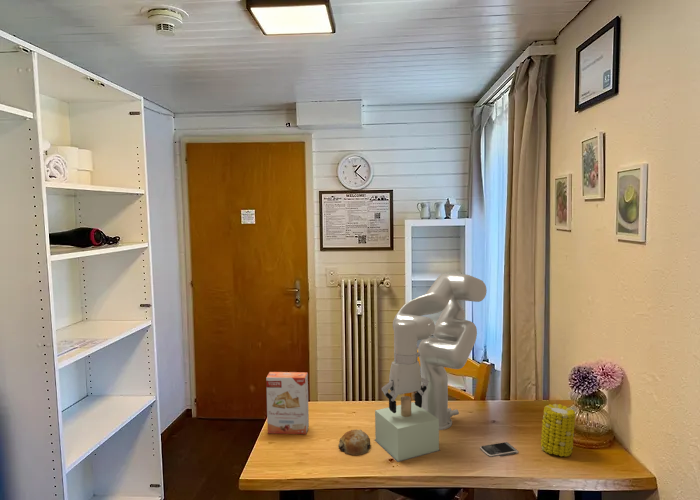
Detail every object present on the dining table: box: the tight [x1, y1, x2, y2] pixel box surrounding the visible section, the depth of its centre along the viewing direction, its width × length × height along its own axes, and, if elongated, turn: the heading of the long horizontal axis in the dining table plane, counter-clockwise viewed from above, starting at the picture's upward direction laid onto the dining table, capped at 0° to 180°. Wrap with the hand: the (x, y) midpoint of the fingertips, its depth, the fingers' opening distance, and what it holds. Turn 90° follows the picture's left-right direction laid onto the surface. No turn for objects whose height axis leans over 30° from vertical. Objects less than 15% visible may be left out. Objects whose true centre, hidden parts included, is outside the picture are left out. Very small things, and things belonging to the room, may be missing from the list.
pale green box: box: [374, 395, 440, 462], centre depth 157 cm, size 15×15×16 cm
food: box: [540, 403, 576, 458], centre depth 152 cm, size 15×12×10 cm
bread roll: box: [338, 429, 371, 456], centre depth 156 cm, size 10×10×8 cm
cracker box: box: [265, 371, 310, 435], centre depth 169 cm, size 14×6×21 cm, turn 86°
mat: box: [374, 439, 441, 463], centre depth 157 cm, size 16×16×1 cm
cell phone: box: [479, 441, 519, 458], centre depth 153 cm, size 6×11×1 cm, turn 105°
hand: (405, 408), depth 156 cm, fingers open, 9 cm apart
